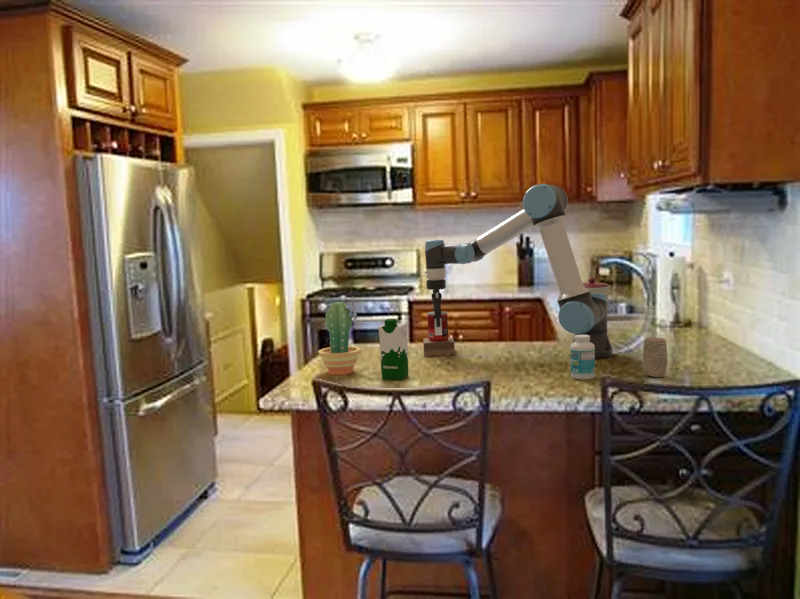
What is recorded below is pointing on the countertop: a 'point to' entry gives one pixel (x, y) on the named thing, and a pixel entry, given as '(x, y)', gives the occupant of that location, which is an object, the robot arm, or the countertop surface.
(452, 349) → the block
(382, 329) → the milk carton
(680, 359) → the countertop surface
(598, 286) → the canister
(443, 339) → the canned food
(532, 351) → the countertop surface
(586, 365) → the pill bottle
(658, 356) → the carving
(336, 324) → the potted cactus
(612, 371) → the countertop surface
